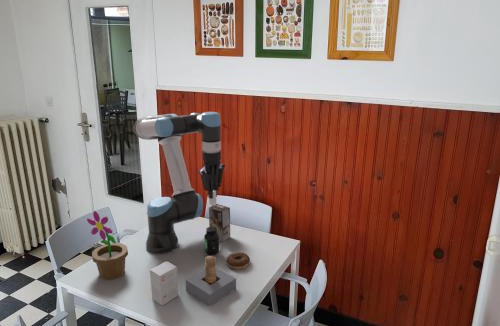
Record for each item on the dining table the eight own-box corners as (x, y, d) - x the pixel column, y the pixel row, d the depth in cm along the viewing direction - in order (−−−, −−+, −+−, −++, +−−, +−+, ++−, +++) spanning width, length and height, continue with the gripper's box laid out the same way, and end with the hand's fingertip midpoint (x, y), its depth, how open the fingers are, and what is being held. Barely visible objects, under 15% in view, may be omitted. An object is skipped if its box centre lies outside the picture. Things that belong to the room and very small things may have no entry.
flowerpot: (86, 278, 160) (77, 211, 151) (110, 260, 173) (103, 198, 164) (114, 285, 155) (106, 218, 146) (136, 267, 168) (130, 204, 158)
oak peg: (203, 290, 152) (202, 259, 148) (211, 285, 156) (210, 254, 151) (210, 294, 150) (210, 263, 146) (218, 289, 153) (218, 258, 149)
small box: (168, 289, 153) (166, 260, 149) (179, 295, 149) (177, 266, 145) (151, 299, 147) (149, 269, 143) (162, 306, 143) (159, 275, 139)
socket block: (186, 290, 152) (185, 279, 151) (212, 275, 162) (211, 265, 161) (210, 306, 143) (209, 294, 142) (236, 289, 153) (236, 278, 152)
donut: (247, 272, 165) (247, 264, 164) (223, 269, 167) (223, 261, 166) (252, 259, 175) (252, 251, 174) (229, 256, 177) (229, 248, 176)
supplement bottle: (205, 256, 176) (204, 232, 173) (204, 248, 183) (203, 226, 179) (219, 255, 178) (219, 231, 174) (218, 247, 184) (218, 225, 180)
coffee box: (231, 236, 195) (230, 207, 190) (223, 241, 190) (222, 211, 185) (217, 231, 200) (216, 203, 195) (208, 236, 195) (208, 207, 190)
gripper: (205, 155, 148) (207, 211, 155) (229, 149, 158) (230, 202, 165) (193, 152, 153) (195, 206, 160) (216, 146, 162) (217, 197, 169)
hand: (212, 204), depth 162 cm, fingers closed
